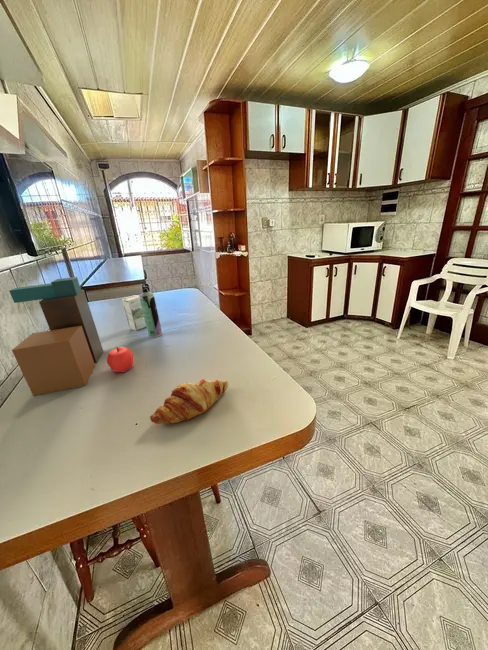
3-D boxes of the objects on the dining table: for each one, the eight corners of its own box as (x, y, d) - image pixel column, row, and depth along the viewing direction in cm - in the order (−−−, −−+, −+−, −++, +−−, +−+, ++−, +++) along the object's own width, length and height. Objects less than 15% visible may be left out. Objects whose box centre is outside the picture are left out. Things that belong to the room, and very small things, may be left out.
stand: (65, 369, 91) (38, 301, 82) (74, 355, 100) (51, 293, 91) (96, 363, 93) (74, 296, 84) (103, 350, 102) (83, 289, 93)
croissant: (223, 394, 76) (213, 368, 76) (242, 393, 68) (230, 364, 68) (151, 433, 63) (139, 401, 64) (163, 438, 55) (150, 402, 55)
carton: (32, 395, 77) (11, 350, 71) (49, 374, 88) (32, 333, 82) (85, 385, 80) (68, 340, 74) (95, 366, 91) (81, 325, 85)
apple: (126, 376, 83) (119, 353, 80) (104, 374, 85) (97, 352, 82) (141, 363, 90) (135, 341, 87) (120, 362, 92) (114, 341, 89)
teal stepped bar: (13, 303, 82) (6, 287, 80) (21, 299, 87) (15, 284, 85) (77, 294, 86) (71, 279, 84) (81, 291, 90) (76, 276, 88)
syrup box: (140, 324, 125) (133, 294, 119) (147, 326, 121) (140, 296, 116) (129, 328, 121) (121, 298, 115) (136, 331, 117) (128, 299, 112)
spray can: (163, 335, 111) (153, 288, 103) (150, 338, 108) (139, 291, 101) (160, 331, 115) (150, 285, 108) (147, 334, 113) (136, 288, 105)
